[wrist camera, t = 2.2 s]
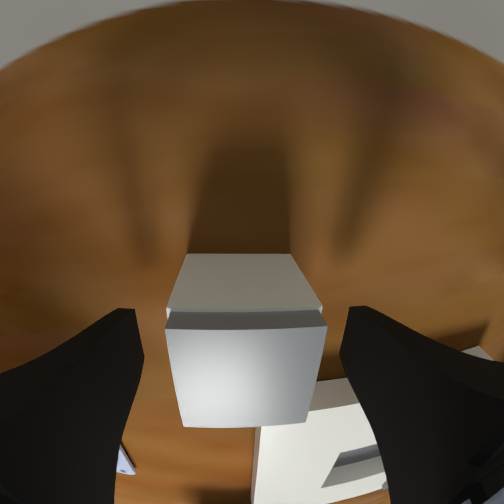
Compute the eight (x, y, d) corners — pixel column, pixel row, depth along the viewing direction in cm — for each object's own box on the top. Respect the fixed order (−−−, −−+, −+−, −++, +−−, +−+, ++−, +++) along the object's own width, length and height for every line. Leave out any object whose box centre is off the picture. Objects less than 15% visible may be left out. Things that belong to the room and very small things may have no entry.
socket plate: (250, 496, 18) (252, 518, 16) (257, 386, 13) (263, 425, 11) (405, 463, 20) (413, 481, 17) (478, 345, 15) (498, 365, 12)
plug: (193, 338, 12) (180, 428, 7) (186, 253, 11) (160, 325, 6) (282, 337, 12) (308, 423, 8) (290, 253, 11) (332, 322, 6)
